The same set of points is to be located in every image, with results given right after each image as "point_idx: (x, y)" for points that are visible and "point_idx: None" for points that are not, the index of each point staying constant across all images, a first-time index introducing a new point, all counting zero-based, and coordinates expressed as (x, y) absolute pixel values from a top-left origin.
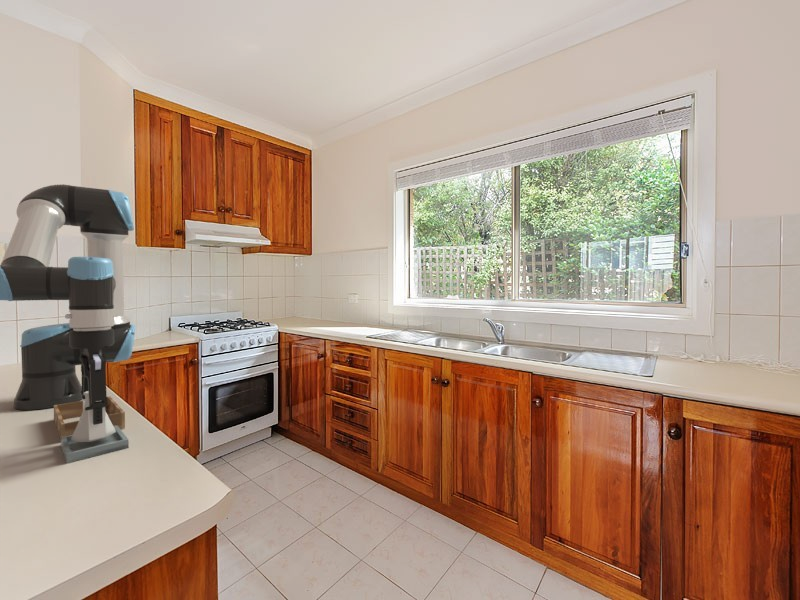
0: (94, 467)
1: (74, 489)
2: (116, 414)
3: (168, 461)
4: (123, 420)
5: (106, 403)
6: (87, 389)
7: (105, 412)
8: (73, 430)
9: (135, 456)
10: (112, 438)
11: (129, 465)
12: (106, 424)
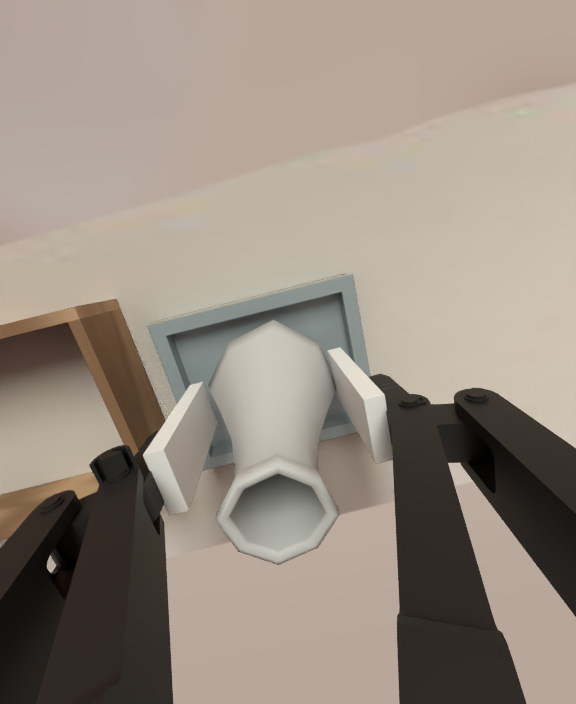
0: (444, 348)
1: (549, 370)
2: (90, 338)
3: (551, 147)
4: (100, 307)
5: (497, 395)
6: (158, 559)
7: (279, 381)
8: None
9: (436, 249)
10: (257, 327)
11: (496, 262)
12: (302, 358)
